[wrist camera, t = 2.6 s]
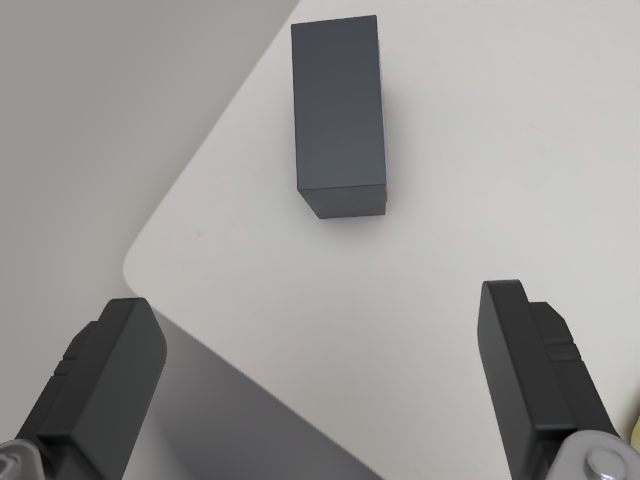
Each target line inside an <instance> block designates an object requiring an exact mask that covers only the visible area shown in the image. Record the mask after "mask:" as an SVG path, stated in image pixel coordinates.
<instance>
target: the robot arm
mask: <svg viewBox="0 0 640 480" xmlns="http://www.w3.org/2000/svg"><path fill="white" fill-rule="evenodd" d="M477 335H478V345H479V351H480V356H481V360H482V363H483V367H484V371H485V375H486V379H487V383H488V387H489V391H490V395H491V399H492V403H493V406H494V410H495V414H496V418H497V422H498V426H499V430H500V434H501V438H502V442H503V446H504V450H505V453H506V457H507V461H508V465H509V469H510V473H511V477H512V480H640V453H639V452H638V451H637V450H636V449H634V448H633V447H632V446H631V445H630V444H628V443H627V442H625V441H624V440H622V439H621V437H620V436H619V435H618V433H617V432H616V430H615V428H614V427H613V425H612V423H611V421H610V418H609V416H608V414H607V412H606V410H605V407H604V405H603V403H602V401H601V399H600V396H599V394H598V392H597V390H596V388H595V386H594V383H593V381H592V379H591V377H590V375H589V372H588V370H587V368H586V366H585V364H584V361H582V360H581V355H580V353H579V350H578V348H577V346H576V344H574V342H573V337H572V335H571V333H570V331H569V329H568V326H567V324H566V322H565V320H564V318H562V317H561V316H560V315H559V314H558V313H557V312H556V311H555V310H554V309H553V308H552V307H551V306H550V305H549V304H548V303H547V302H529V301H528V299H527V296H526V293H525V291H524V288H523V286H522V284H521V282H520V281H519V280H518V279H516V280H496V281H484V282H483V284H482V291H481V300H480V308H479V317H478V327H477ZM166 355H167V345H166V340H165V337H164V335H163V333H162V331H161V328H160V327H159V324H158V322H157V320H156V318H155V316H154V314H153V312H152V309H151V307H150V305H149V303H148V301H147V300H146V299H145V298H123V299H112V300H110V301H109V302H108V303H107V305H106V307H105V308H104V310H103V312H102V314H101V316H100V317H99V319H98V321H91V322H90V323H89V324H88V325H87V326H86V327H85V328H84V329H83V330H82V331H81V332H79V333H78V334H77V335H76V336H75V337H74V339H73V340H72V342H71V343H70V345H69V347H68V349H67V350H66V352H65V354H64V355H63V360H62V361H60V362H59V364H58V366H57V368H56V369H55V371H54V376H51V378H50V379H49V381H48V383H47V385H46V386H45V388H44V390H43V392H42V393H41V395H40V397H39V398H38V400H37V402H36V403H35V405H34V407H33V409H32V410H31V412H30V414H29V416H28V417H27V419H26V421H25V423H24V424H23V426H22V428H21V429H20V431H19V433H18V434H17V436H16V437H15V439H14V440H10V441H7V442H4V443H2V444H0V480H121V479H122V477H123V474H124V472H125V469H126V466H127V464H128V461H129V458H130V455H131V453H132V450H133V447H134V445H135V442H136V440H137V437H138V434H139V431H140V429H141V426H142V423H143V421H144V418H145V415H146V413H147V410H148V407H149V404H150V402H151V399H152V397H153V394H154V391H155V388H156V386H157V383H158V380H159V378H160V375H161V372H162V370H163V367H164V364H165V361H166Z"/></svg>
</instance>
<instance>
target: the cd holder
mask: <svg viewBox="0 0 640 480" xmlns="http://www.w3.org/2000/svg"><path fill="white" fill-rule="evenodd" d="M291 37H292V63H293V89H294V115H295V141H296V167H297V190H298V191H299V193H300V194H301V195H302V197H303V198H304V199H305V201H306V202H307V203H308V205H309V206H310V207H311V208H312V210H313V211H314V212H315V214H316V215H317V216H318V218H319V219H325V218H340V217H356V216H372V215H385V205H386V201H387V189H388V174H387V158H386V142H385V126H384V109H383V93H382V77H381V61H380V45H379V40H378V32H377V16H376V15H371V16H362V17H353V18H344V19H335V20H326V21H317V22H308V23H298V24H292V25H291Z"/></svg>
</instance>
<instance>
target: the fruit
mask: <svg viewBox="0 0 640 480" xmlns="http://www.w3.org/2000/svg"><path fill="white" fill-rule="evenodd" d="M631 446H632V447H633V448H634V449H636V450H637V451H638V452H639V453H640V416H639V419H638V421H637V423H636V425H635V428H634V430H633V432H632V436H631Z"/></svg>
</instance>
